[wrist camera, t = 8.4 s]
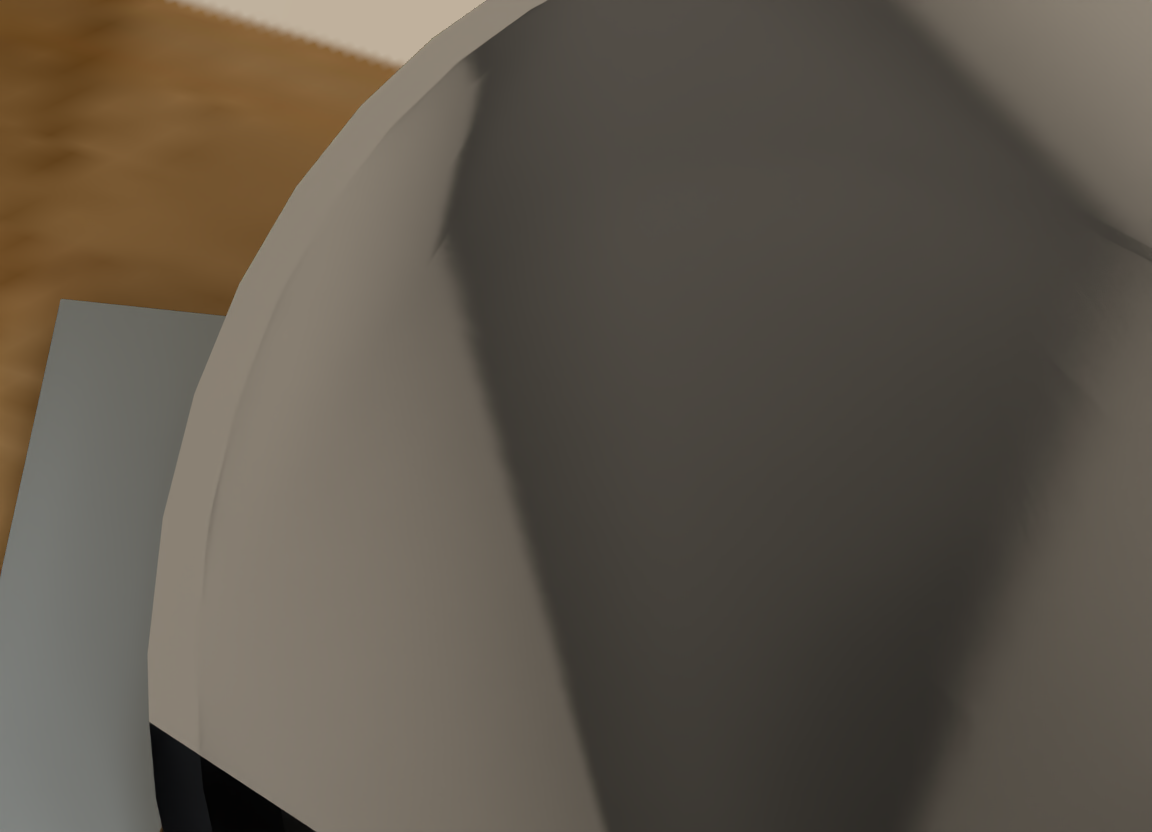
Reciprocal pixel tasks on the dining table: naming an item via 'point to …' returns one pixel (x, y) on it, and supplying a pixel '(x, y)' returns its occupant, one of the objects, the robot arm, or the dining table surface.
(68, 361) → the dock
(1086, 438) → the peg
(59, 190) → the dining table surface
